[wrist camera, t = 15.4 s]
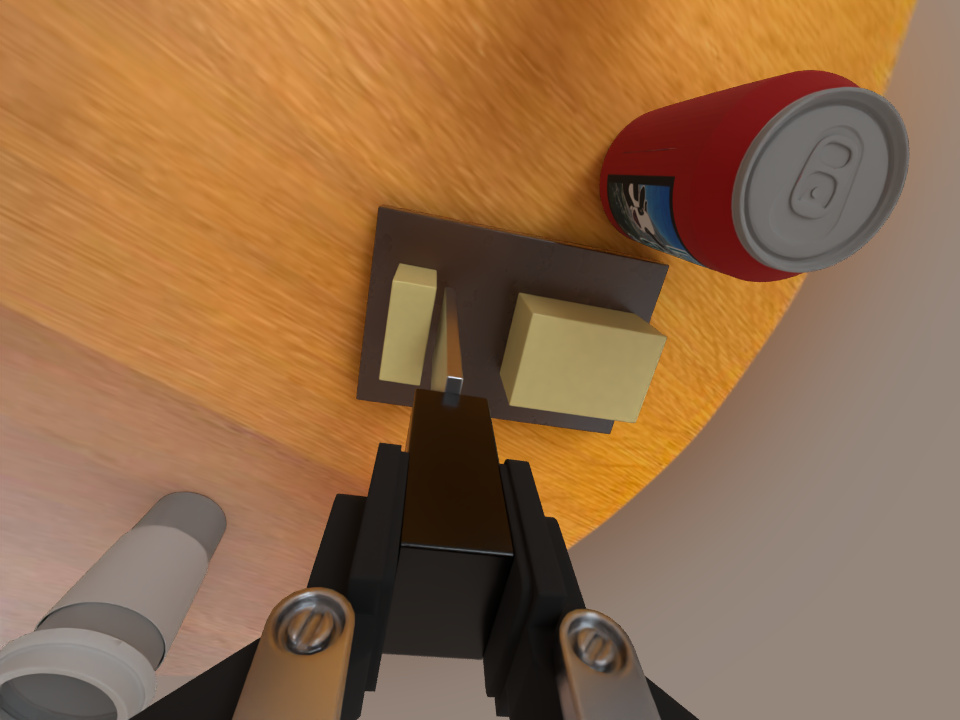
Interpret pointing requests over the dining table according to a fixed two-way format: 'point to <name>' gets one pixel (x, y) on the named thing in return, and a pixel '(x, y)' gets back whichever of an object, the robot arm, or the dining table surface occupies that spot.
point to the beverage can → (760, 175)
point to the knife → (449, 517)
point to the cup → (114, 620)
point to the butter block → (579, 359)
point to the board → (492, 299)
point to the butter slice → (408, 324)
